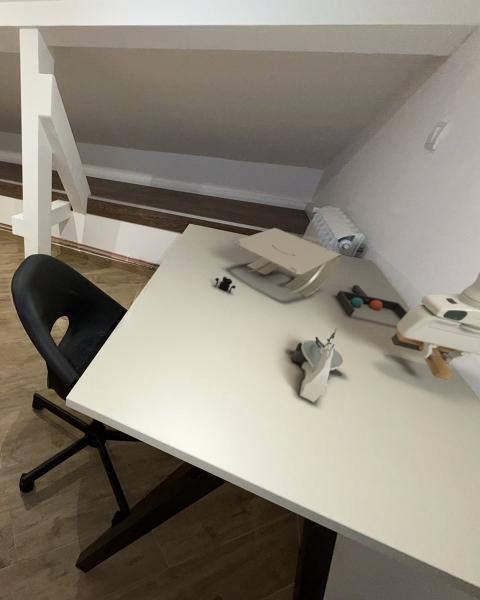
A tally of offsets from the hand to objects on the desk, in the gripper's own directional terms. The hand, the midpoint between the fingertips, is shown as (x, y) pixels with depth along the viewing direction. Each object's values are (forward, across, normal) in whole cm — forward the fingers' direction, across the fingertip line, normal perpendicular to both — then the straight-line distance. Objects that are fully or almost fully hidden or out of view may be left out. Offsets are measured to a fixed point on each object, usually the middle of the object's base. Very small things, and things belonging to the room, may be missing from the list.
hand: (434, 359), depth 73 cm
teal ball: (+5, +3, -33) cm, 33 cm away
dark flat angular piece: (+6, -1, -35) cm, 36 cm away
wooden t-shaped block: (+2, 0, -1) cm, 2 cm away
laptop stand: (+7, +28, -38) cm, 47 cm away
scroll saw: (+7, +26, +11) cm, 29 cm away
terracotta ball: (+5, -3, -34) cm, 35 cm away
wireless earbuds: (+7, +45, -23) cm, 51 cm away
